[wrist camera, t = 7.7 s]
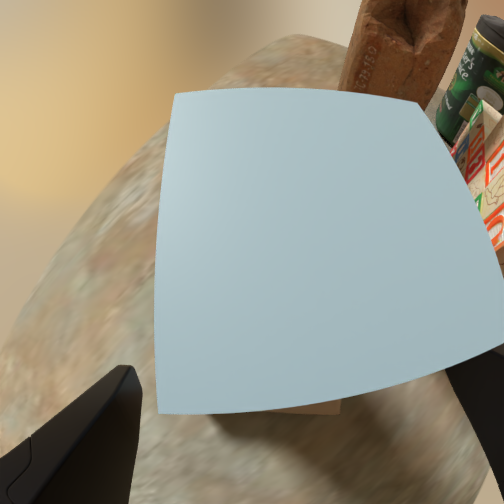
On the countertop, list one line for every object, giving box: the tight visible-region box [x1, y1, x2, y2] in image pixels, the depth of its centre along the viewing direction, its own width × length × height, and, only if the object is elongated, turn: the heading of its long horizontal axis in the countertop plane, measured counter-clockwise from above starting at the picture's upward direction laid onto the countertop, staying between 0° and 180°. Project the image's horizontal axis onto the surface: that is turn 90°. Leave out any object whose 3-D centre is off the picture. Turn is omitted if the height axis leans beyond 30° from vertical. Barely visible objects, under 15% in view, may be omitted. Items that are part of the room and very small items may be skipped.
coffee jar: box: [436, 15, 504, 146], centre depth 20 cm, size 10×8×19 cm
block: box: [337, 0, 468, 112], centre depth 17 cm, size 11×8×20 cm
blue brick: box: [154, 88, 504, 414], centre depth 9 cm, size 5×5×12 cm
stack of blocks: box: [450, 100, 504, 279], centre depth 16 cm, size 21×6×12 cm, turn 145°
